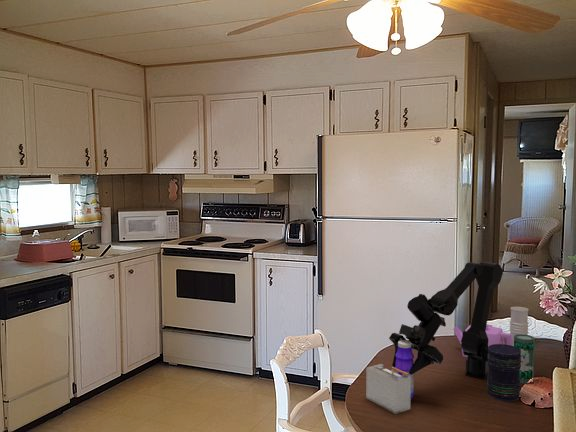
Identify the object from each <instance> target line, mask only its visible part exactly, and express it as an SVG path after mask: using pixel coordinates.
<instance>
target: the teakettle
mask: <svg viewBox="0 0 576 432" xmlns="http://www.w3.org/2000/svg"><path fill="white" fill-rule="evenodd" d="M470 326H471V324H469V326H467V327H466V329H465V330H464V331H467V330H468V329H469V328H470ZM452 330H453V332H454V333H455V336H456V337H457V340H458V342H459V344H460V345H461V340H462V335H463V331H462V330H461V329H460V328H459V327H453V328H452ZM486 334H487V337H488V347H489V346H490V345H493V344H506V345H511V346H513V338H512V334H510V333H506V332H504V331H503V328H501V327H496V326H493V325H492V324H488V323H487V325H486ZM505 339H506V343H505ZM461 355H462V357H463V358H466V359H468V356H467V355H464V353H463V349H462V348H461Z"/></svg>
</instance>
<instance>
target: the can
mask: <svg viewBox="0 0 576 432" xmlns="http://www.w3.org/2000/svg"><path fill="white" fill-rule="evenodd" d="M535 343H536V338H535V336H533V335H529V334H527V335H525V334H524V335H523V334H518V335H515V336H514V346H515V347H517V348H519V349H520V350H521V354H520V355H521V368H520V374H519V379H520V384H523V385H524V384H525V385H527V384H526V383H527V382H528V381H529V380H530V379H532V378H535V374H534V373H535V352H536V351H535V349H536V348H535V347H536V345H535Z"/></svg>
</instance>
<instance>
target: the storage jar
mask: <svg viewBox="0 0 576 432" xmlns="http://www.w3.org/2000/svg"><path fill="white" fill-rule="evenodd" d="M520 354H521V350H520V349H519V348H517V347H515V346H511V345H507V343H505V344H493V345H490V346H489V347H488V361H487V362H488V376H487V377H486V380H487V381H486V388H487V389H486V394H487V396H489V398H492V399H494V400H497V401H499V402H500V401H501V402H515V401H518V400H520V398H519V395H520V392H521V383H520V379H519V374H520V368H521V355H520Z"/></svg>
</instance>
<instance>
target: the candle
mask: <svg viewBox="0 0 576 432" xmlns="http://www.w3.org/2000/svg"><path fill="white" fill-rule="evenodd" d="M529 310H530V309H529V308H527V307H524V306H511V307H510V320H509V332H510V333H509V334H512V338H513V346H514V336H515V335H518V334H523V335H524V334H525V335H528V333H529V322H528V318H529Z"/></svg>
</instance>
